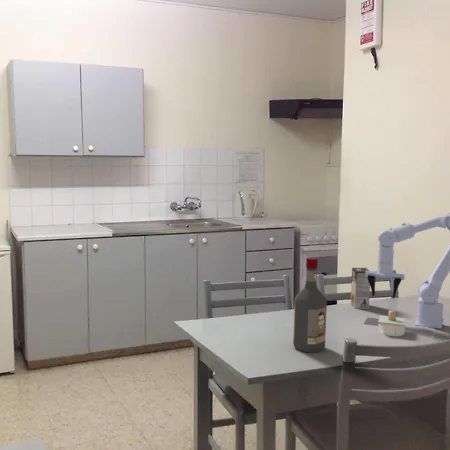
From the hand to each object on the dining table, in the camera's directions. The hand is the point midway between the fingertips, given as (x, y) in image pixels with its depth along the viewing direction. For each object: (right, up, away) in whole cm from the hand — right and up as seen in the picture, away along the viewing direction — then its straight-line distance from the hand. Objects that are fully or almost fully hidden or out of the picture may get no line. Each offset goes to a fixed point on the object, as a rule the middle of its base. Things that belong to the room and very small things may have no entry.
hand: (383, 296), depth 220 cm
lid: (-1, -8, -14) cm, 16 cm away
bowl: (-1, -12, -14) cm, 18 cm away
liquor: (-33, -13, -31) cm, 48 cm away
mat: (-2, -10, -1) cm, 10 cm away
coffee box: (-4, -7, +23) cm, 25 cm away
